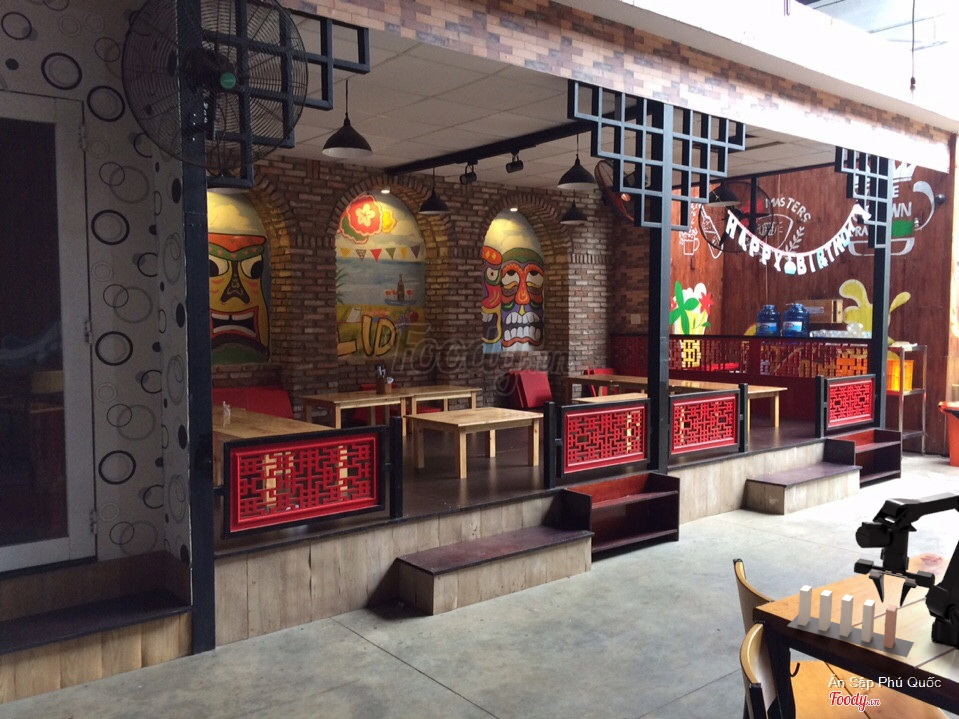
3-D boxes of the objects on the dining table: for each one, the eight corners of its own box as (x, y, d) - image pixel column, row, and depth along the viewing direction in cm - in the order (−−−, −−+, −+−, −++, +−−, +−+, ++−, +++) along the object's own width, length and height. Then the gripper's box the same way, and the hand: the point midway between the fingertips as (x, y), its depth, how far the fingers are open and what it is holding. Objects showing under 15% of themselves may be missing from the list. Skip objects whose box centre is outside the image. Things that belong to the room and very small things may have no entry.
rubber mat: (913, 643, 212) (914, 642, 212) (906, 658, 202) (906, 657, 202) (798, 614, 230) (799, 613, 230) (787, 627, 220) (787, 626, 220)
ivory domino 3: (851, 631, 218) (853, 596, 217) (847, 636, 214) (849, 601, 213) (843, 629, 219) (845, 594, 219) (839, 634, 215) (841, 599, 215)
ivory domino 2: (830, 625, 221) (832, 591, 221) (825, 631, 217) (828, 596, 217) (822, 623, 223) (824, 589, 222) (818, 629, 219) (820, 594, 218)
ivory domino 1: (810, 620, 225) (812, 586, 224) (805, 626, 221) (807, 591, 220) (802, 618, 226) (804, 585, 225) (797, 624, 222) (799, 589, 221)
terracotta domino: (895, 642, 212) (897, 606, 211) (891, 648, 208) (894, 611, 207) (886, 640, 213) (889, 604, 212) (883, 646, 209) (885, 609, 208)
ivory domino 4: (872, 636, 215) (875, 601, 214) (869, 642, 211) (871, 606, 210) (865, 634, 216) (867, 599, 215) (861, 640, 212) (863, 604, 211)
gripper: (939, 547, 209) (935, 604, 210) (863, 533, 220) (860, 588, 221) (934, 557, 200) (929, 616, 201) (855, 542, 212) (851, 598, 213)
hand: (891, 604), depth 209 cm, fingers open, 4 cm apart
